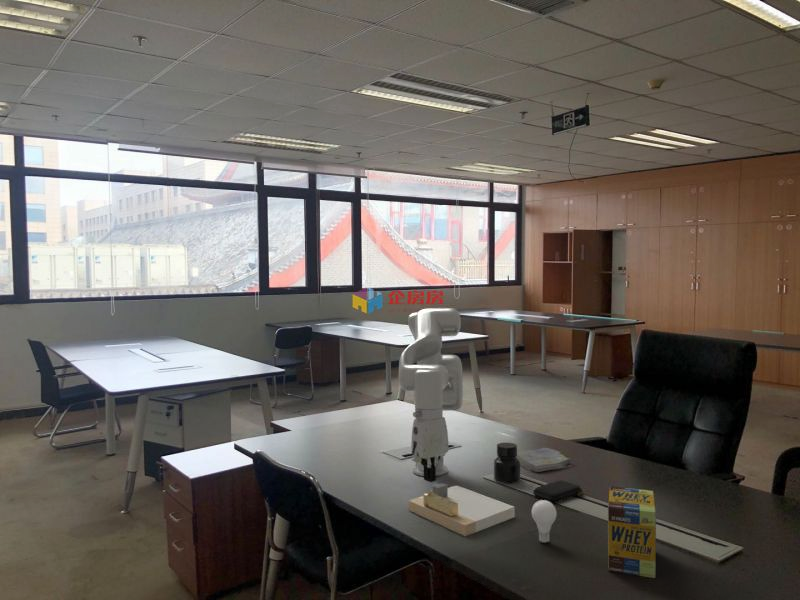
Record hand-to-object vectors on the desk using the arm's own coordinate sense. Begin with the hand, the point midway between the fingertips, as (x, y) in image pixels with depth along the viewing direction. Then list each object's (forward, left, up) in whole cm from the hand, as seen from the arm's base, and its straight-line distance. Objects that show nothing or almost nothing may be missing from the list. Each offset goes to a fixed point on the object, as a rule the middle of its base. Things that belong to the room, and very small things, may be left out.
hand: (429, 480), depth 164 cm
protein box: (+45, +26, -14) cm, 54 cm away
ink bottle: (-14, +48, -14) cm, 52 cm away
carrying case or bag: (+6, +49, -15) cm, 51 cm away
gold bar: (-4, +7, -11) cm, 13 cm away
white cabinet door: (-3, +14, -14) cm, 20 cm away
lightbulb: (+25, +18, -14) cm, 34 cm away
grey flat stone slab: (-18, +72, -15) cm, 76 cm away
